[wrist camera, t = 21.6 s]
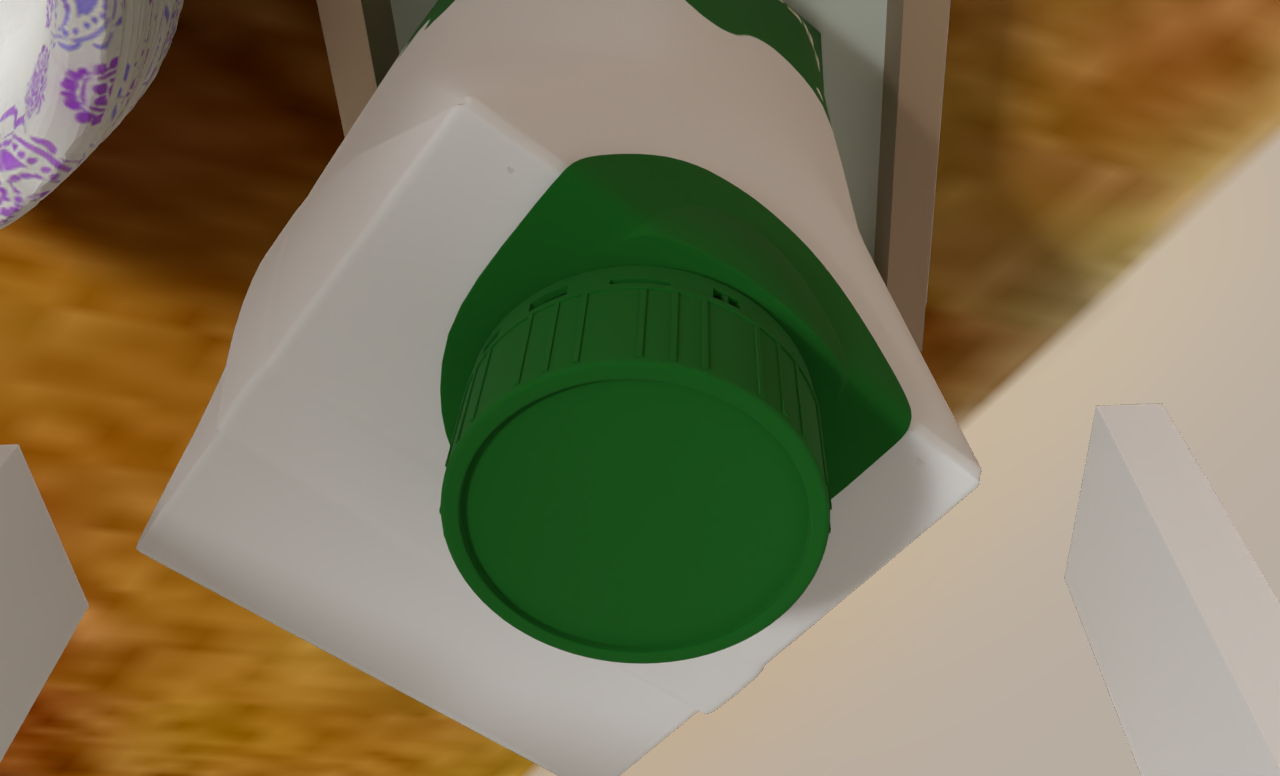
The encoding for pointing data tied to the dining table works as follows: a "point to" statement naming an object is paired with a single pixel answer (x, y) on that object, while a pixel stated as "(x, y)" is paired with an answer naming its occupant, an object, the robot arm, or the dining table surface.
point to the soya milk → (569, 380)
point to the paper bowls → (70, 84)
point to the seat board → (854, 91)
